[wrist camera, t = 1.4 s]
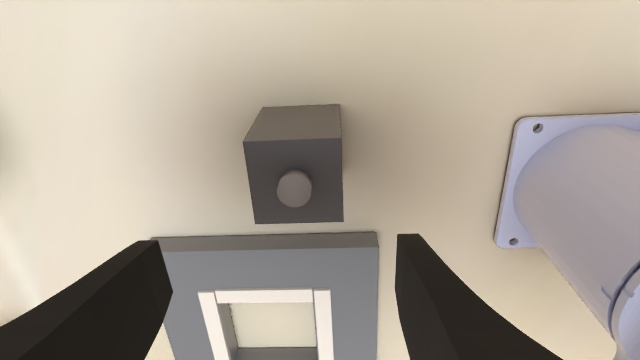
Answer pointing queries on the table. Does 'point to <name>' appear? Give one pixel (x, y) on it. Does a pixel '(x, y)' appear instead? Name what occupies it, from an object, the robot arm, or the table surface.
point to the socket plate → (272, 292)
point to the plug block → (295, 164)
